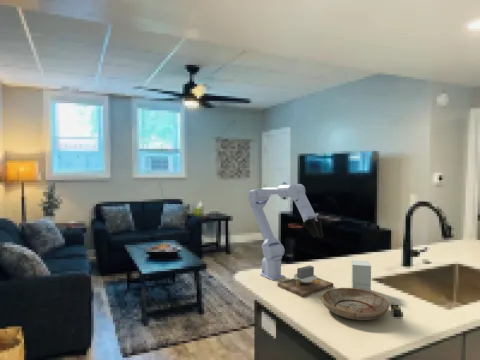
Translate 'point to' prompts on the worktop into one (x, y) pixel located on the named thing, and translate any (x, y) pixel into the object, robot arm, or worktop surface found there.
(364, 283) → the supplement box
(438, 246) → the worktop surface
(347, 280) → the worktop surface
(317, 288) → the walnut base
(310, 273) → the flange disc
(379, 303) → the ceramic bowl
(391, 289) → the worktop surface
